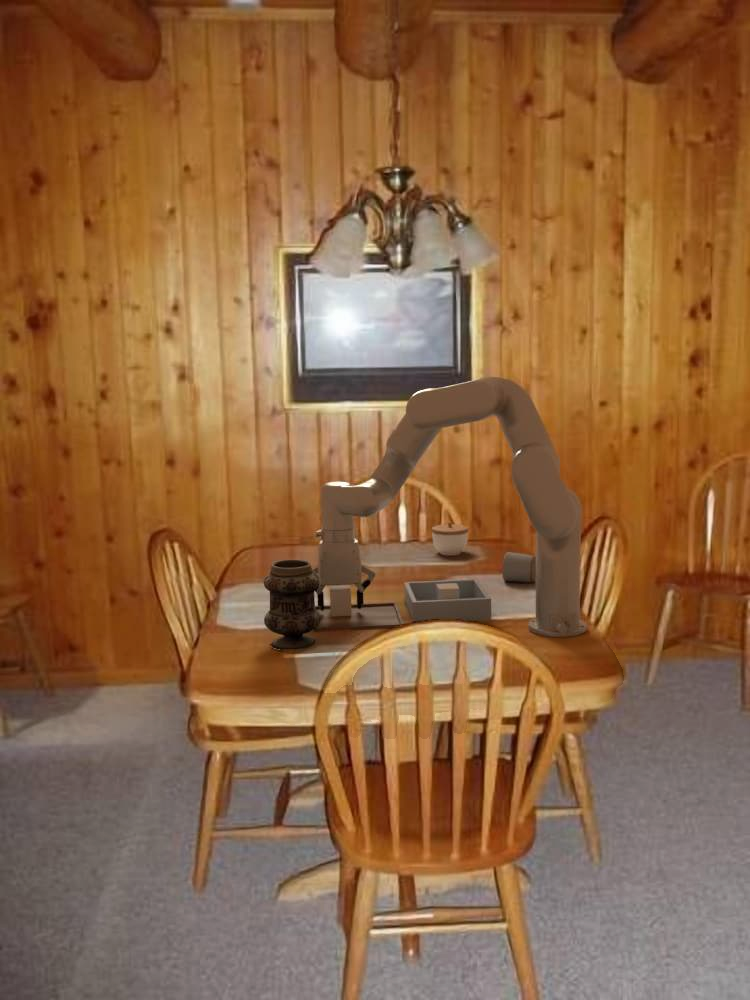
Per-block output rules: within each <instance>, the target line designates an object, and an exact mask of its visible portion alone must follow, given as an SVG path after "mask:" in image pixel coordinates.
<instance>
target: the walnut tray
mask: <svg viewBox="0 0 750 1000" xmlns="http://www.w3.org/2000/svg"><path fill="white" fill-rule="evenodd" d="M315 609H316V610H317V611H318V612H319V614H320V616H321V621H320V624H319V625H318V626H317V627H316V628H315V629H314V630H313V631H314V632H327V631H329V632H331V631H349V630H351V631H352V630H354V631H355V630H373V629H390V628H391V629H392V628H393V627H396V626H400V625H404V621H403V619H402V615H401V613H400V610H399V607H398V604H397V602H396V601H395V602H394V601H393V602H376V603H375V602H374V603H373V602H371V603H369V602H368V603H363V604H361V609H359V608H358V607H357V603H351V610H352V616H332V617H331V612H330V604H327V605H325V604H324V610H323V611H321V606H318V605H315ZM404 626H405V625H404ZM396 628H397V627H396Z"/></svg>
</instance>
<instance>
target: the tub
mask: <svg viewBox="0 0 750 1000" xmlns="http://www.w3.org/2000/svg"><path fill="white" fill-rule="evenodd" d="M446 583H457V585H458V587H459V599H449V600H436V584H446ZM403 584H404V585H403V586H404V587H403V590H404V592H403V593H404V598H403V599H404V602H405V605H406V607H407V610H408V612H409V615H410V618H411V619H412V620H411V621H412V622H425V621H424V620H430V621H432V620H431V619H451V620H461V619H463V620H464V619H465V620H468V621H467V622H474V621H475V620H477V621H479V622H480V621H492V598H491V596H490V595H489V594H488V592H487V591H486V590H485V588H484V586H482V584H481V583H480V581H479V580H478V579H477V578H476V579H475V578H472V579H471V578H470V579H469V578H467V579H448V580H447V579H446V580H424V581H405V582H403ZM477 621H475V622H477Z"/></svg>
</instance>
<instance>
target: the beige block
mask: <svg viewBox="0 0 750 1000" xmlns="http://www.w3.org/2000/svg"><path fill="white" fill-rule="evenodd" d="M449 599H459V587H458V585H457V583H446V584H436V600H449Z"/></svg>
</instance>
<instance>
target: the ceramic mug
mask: <svg viewBox="0 0 750 1000" xmlns="http://www.w3.org/2000/svg"><path fill="white" fill-rule="evenodd" d="M501 573H502V574H501V575H502V579H503V581H505V582H513V583H523V584H524V583H527V584H529V583H533V582H536V555H535V556H534V555H531V554H525V553H516V552H510V551H507V552H506V553H505V554H504V556H503V562H502V572H501Z"/></svg>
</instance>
